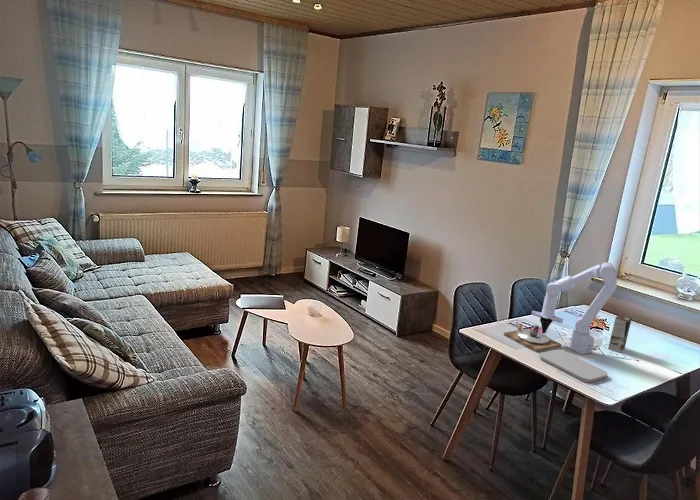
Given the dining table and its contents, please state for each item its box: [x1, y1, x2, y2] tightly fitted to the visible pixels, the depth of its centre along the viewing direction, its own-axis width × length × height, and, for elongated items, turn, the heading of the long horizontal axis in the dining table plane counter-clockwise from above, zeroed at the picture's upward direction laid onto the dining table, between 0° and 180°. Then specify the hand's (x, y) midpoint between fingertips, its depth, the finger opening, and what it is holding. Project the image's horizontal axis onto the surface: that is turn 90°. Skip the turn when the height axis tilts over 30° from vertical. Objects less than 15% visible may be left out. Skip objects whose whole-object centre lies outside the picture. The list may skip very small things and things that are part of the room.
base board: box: [503, 323, 562, 353], centre depth 248 cm, size 20×18×6 cm
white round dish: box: [516, 325, 550, 344], centre depth 247 cm, size 15×15×4 cm
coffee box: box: [607, 314, 633, 353], centre depth 249 cm, size 9×6×16 cm
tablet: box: [538, 349, 608, 383], centre depth 223 cm, size 16×26×2 cm, turn 31°
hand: (543, 332), depth 250 cm, fingers closed
